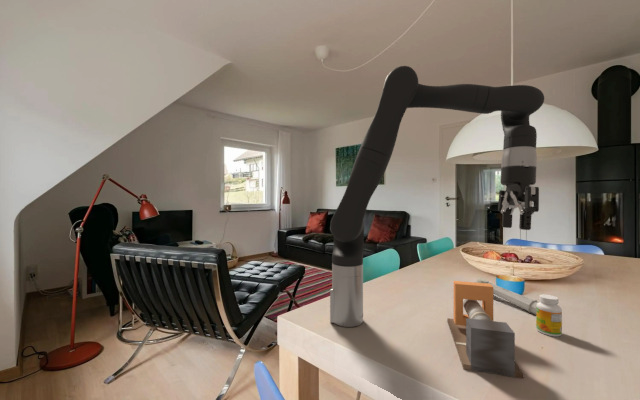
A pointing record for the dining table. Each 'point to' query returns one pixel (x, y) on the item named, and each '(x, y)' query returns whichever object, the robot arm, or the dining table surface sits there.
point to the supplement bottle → (549, 316)
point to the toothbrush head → (513, 297)
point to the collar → (471, 298)
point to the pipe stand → (485, 343)
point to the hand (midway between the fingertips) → (515, 228)
